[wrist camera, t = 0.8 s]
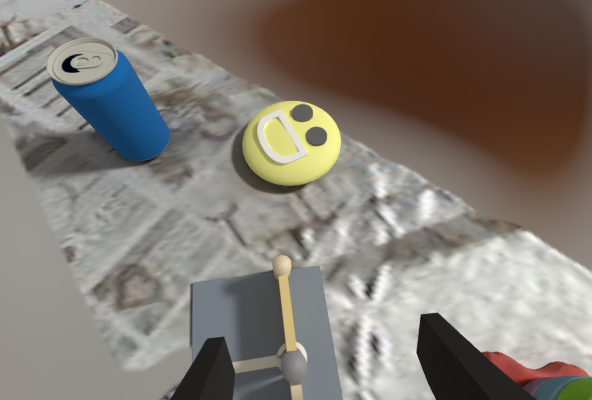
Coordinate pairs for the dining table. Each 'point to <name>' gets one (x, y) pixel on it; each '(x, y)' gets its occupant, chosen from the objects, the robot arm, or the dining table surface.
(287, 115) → the emoji
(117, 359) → the dining table surface
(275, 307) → the card
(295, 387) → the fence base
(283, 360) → the fence panel
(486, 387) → the robot arm
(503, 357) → the stacking bear
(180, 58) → the dining table surface
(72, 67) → the beverage can
